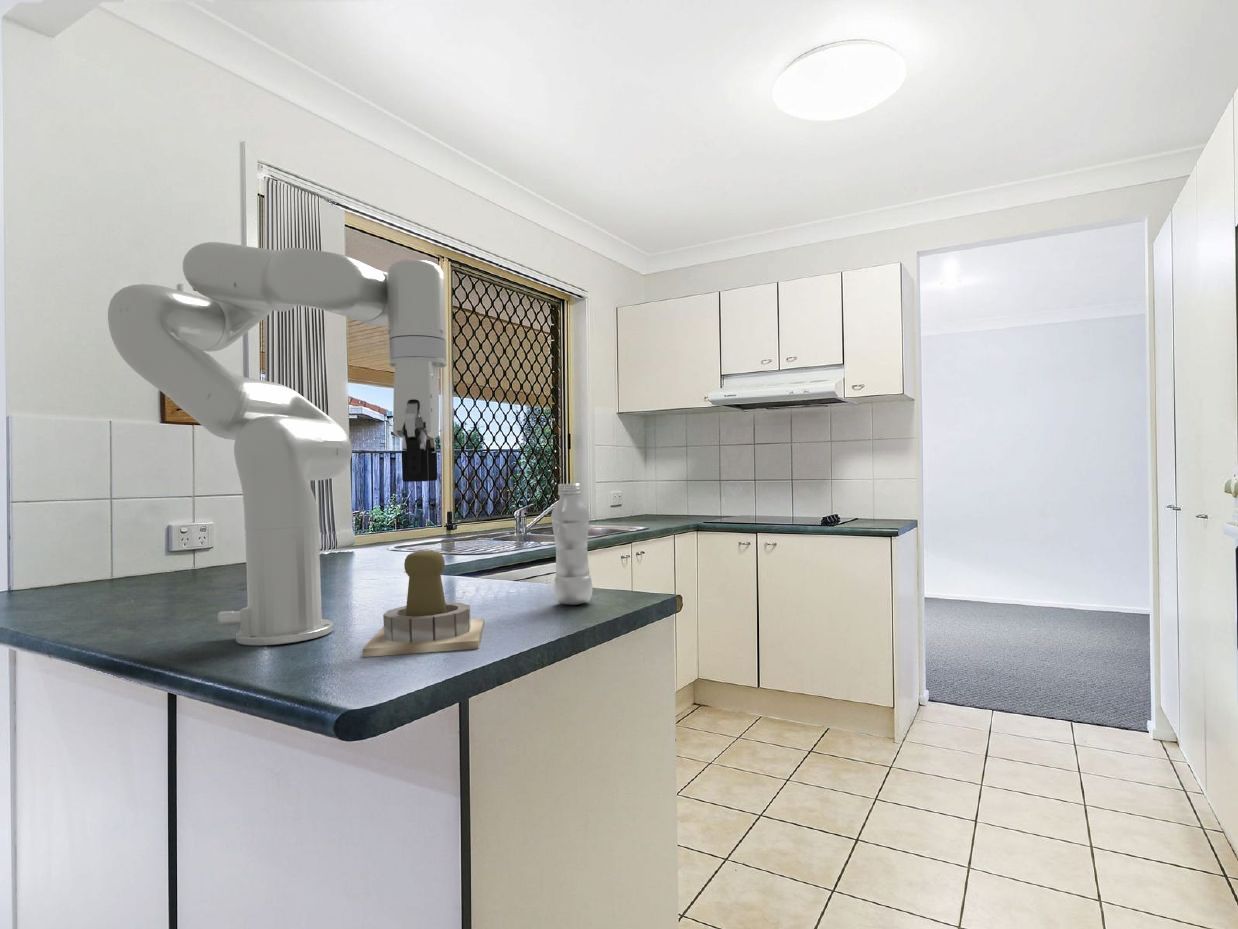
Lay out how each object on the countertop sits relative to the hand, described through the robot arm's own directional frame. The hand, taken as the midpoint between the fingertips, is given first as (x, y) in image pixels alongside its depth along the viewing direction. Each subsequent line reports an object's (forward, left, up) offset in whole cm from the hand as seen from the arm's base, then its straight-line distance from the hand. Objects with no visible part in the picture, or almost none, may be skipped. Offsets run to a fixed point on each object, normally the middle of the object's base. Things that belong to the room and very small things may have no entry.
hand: (420, 481), depth 94 cm
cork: (0, -1, -21) cm, 21 cm away
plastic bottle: (+21, +19, -22) cm, 36 cm away
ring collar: (0, 0, -21) cm, 21 cm away
